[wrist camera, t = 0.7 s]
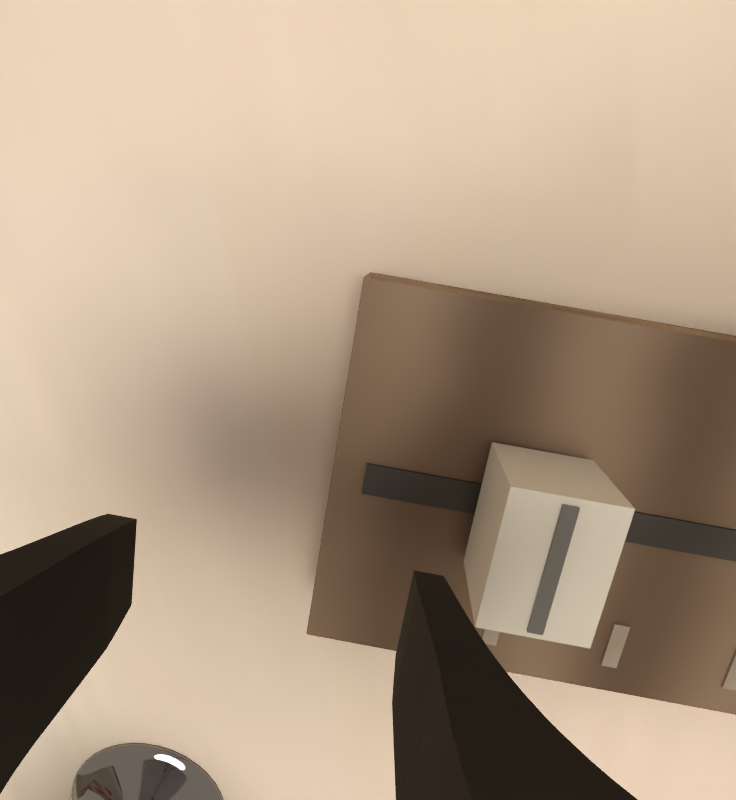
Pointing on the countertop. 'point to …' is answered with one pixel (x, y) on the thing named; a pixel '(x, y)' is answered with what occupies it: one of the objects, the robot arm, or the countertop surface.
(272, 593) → the countertop surface
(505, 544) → the fader tab
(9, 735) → the robot arm
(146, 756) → the silver metal goblet
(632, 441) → the fader console
